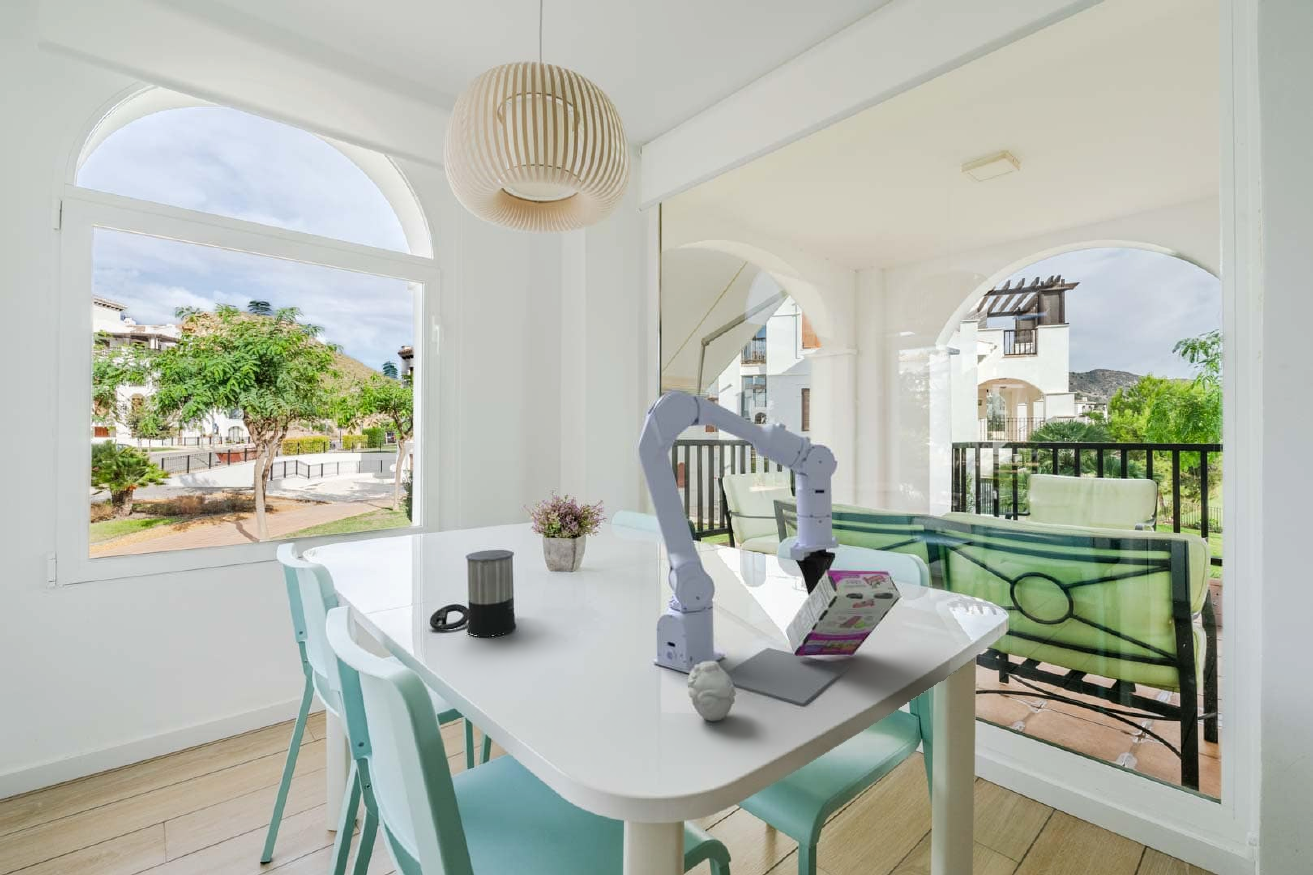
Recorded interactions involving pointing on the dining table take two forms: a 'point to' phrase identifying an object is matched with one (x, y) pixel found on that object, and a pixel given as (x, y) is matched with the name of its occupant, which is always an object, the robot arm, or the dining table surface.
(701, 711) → the white carved ornament
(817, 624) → the candy bar box
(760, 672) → the rubber mat
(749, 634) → the dining table surface
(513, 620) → the milk frother
